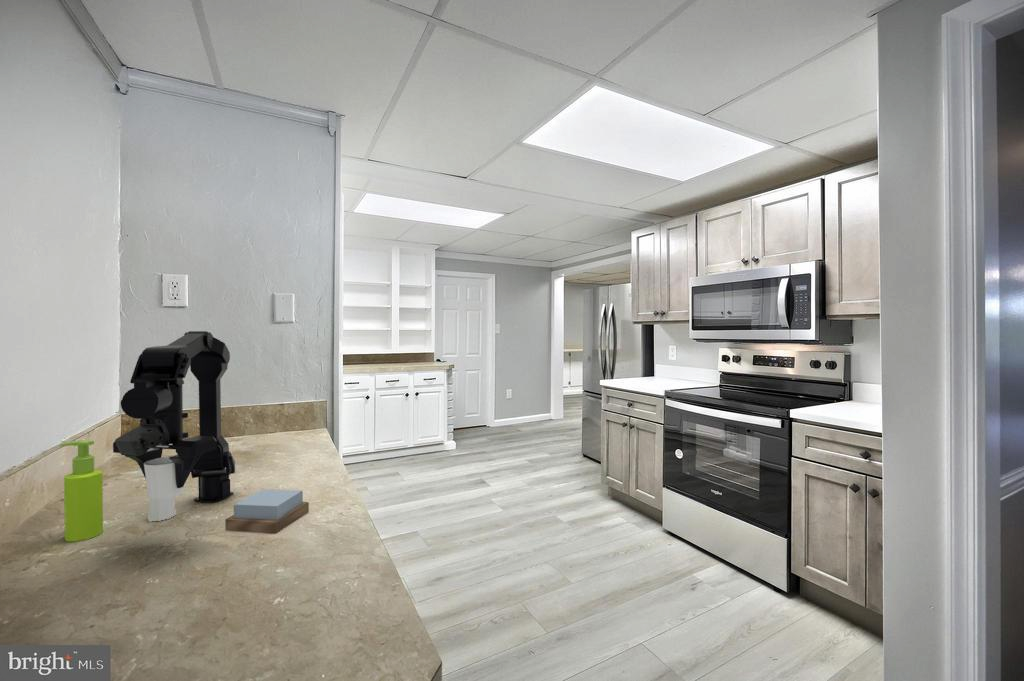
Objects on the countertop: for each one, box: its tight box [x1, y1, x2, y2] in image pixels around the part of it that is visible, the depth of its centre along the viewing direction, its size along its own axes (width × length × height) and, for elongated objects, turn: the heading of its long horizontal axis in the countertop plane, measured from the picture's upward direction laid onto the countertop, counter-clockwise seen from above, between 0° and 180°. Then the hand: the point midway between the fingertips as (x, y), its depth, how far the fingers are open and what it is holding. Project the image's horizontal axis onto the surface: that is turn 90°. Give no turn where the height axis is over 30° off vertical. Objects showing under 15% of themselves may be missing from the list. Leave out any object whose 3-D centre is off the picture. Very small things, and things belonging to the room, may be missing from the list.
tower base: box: [224, 501, 310, 534], centre depth 104 cm, size 12×12×3 cm
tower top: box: [233, 488, 304, 520], centre depth 104 cm, size 10×10×3 cm
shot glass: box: [144, 455, 185, 500], centre depth 92 cm, size 7×7×7 cm
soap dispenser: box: [59, 440, 104, 543], centre depth 96 cm, size 6×7×20 cm
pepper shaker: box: [147, 496, 177, 523], centre depth 106 cm, size 5×5×11 cm
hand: (166, 486), depth 92 cm, fingers closed on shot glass, 6 cm apart
